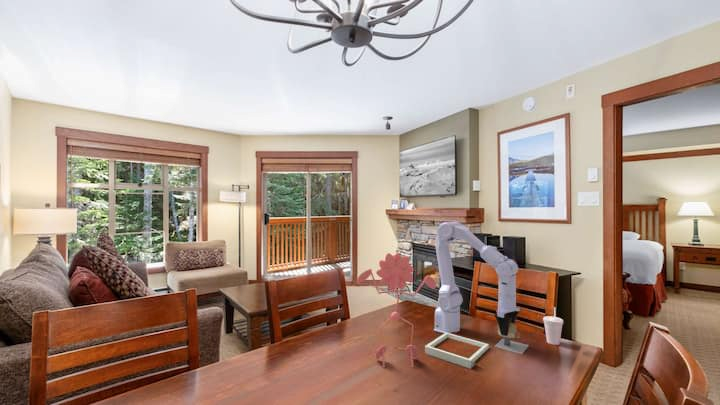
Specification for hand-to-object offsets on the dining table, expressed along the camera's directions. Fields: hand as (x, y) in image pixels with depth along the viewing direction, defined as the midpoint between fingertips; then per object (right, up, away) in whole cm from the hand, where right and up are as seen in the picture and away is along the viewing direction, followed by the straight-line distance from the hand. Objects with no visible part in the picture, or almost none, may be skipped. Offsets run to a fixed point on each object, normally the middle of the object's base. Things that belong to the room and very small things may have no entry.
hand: (507, 332), depth 117 cm
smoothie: (+18, -6, +2) cm, 19 cm away
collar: (0, -1, 0) cm, 1 cm away
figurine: (-41, -6, -7) cm, 42 cm away
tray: (-19, -6, -4) cm, 20 cm away
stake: (+1, -6, -1) cm, 6 cm away
